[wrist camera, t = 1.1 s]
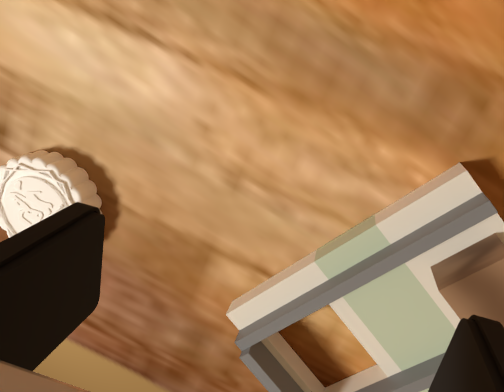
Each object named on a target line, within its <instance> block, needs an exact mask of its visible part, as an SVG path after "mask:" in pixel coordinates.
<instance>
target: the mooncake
mask: <svg viewBox="0 0 504 392" xmlns="http://www.w3.org/2000/svg"><path fill="white" fill-rule="evenodd" d="M96 193H97V187H96V185H95V183H94V182H93V181H91V180H89V177H88V173H87V172H86V171H85V170H84V169H83V168H81V167H77V164H76V162H75V161H74V160H73V159H71V158H64V157H63V156H62V155H61V154H60V153H58V152H51V153H48V152H47V151H45V150H39V151H36V152H33V153H27V154H24V155H21V156H18V157H15V158H12V159H10V160H9V161H8V162H7V164H5V165H2V166H1V167H0V226H1V228H2V229H4V230H6V231H7V235H8V237H9V238H10V237H12V236H13V235H15V234H17V233H19V232H21V231H23V230H25V229H27V228H28V227H30V226H32V225H34V224H36V223H38V222H40V221H42V220H43V219H45V218H47V217H49V216H51V215H53V214H55V213H57V212H58V211H60V210H62V209H64V208H66V207H68V206H70V205H72V204H73V203H76V202H80V203H84V204H87V205H91V206H94V207H98V208H100V207H101V205H102V201H101V198H100V197H99V196H98V195H97V194H96ZM99 210H100V209H99ZM100 214H102V212H101V210H100Z"/></svg>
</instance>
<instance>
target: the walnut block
mask: <svg viewBox="0 0 504 392" xmlns="http://www.w3.org/2000/svg"><path fill="white" fill-rule="evenodd" d="M431 270H432V273H433V276H434V279H435V282H436V285H437V288H438V291H439V292H440V293H441V295H442V296H443V297H444V299H445V300H446V301H447V303H448V304H449V305H450V307H451V308H452V309H453V311H454V312H455V313H456V314H457V316H458V317H459V318H460V320H461V319H462V318H466V319H469V317H470V316H471V315H477V316H481V317H484V318H488V319H491V320H495V321H498V322H500V323H501V324H502V326H503V327H504V244H503V242H502V241H501V240H500V238H499V237H498V236H497V234H496V233H494V234H492V235H490V236H488V237H486V238H484V239H482V240H480V241H479V242H477V243H475V244H473V245H471V246H469V247H467V248H465V249H463V250H461V251H460V252H458V253H456V254H454V255H452V256H450V257H448V258H446V259H444V260H442V261H440V262H439V263H437V264H435V265H433V266H431Z"/></svg>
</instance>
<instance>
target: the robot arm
mask: <svg viewBox="0 0 504 392" xmlns="http://www.w3.org/2000/svg"><path fill="white" fill-rule="evenodd" d="M104 226H105V217H104V215H103V214H100V210H99V208H98V207H94V206H91V205H87V204H84V203H80V202H76V203H73V204H72V205H70V206H68V207H66V208H64V209H62V210H60V211H58V212H57V213H55V214H53V215H51V216H49V217H47V218H45V219H43V220H42V221H40V222H38V223H36V224H34V225H32V226H30V227H28V228H27V229H25V230H23V231H21V232H19V233H17V234H15V235H13V236H12V237H10V238H8V239H6V240H4V241H2V242H0V392H90V391H87V390H84V389H81V388H78V387H75V386H73V385H70V384H67V383H64V382H61V381H58V380H55V379H53V378H50V377H47V376H44V375H41V374H38V373H35V372H33V370H34V369H35V368H36V367H37V366H38V365H39V364H40V363H41V362H42V361H43V360H44V359H45V358H46V357H47V356H48V355H49V354H50V353H51V352H52V351H53V350H54V349H55V348H56V347H57V346H58V345H59V344H60V343H61V342H63V341H64V340H65V339H66V338H67V337H68V336H69V335H70V334H71V333H72V332H73V331H74V330H75V329H76V328H77V327H78V326H79V325H80V324H81V323H82V322H83V321H84V320H85V319H86V318H87V317H88V316H89V315H90V314H91V313H92V312H93V311H94V310H95V308H96V306H97V304H98V301H99V297H100V283H101V268H102V254H103V240H104ZM428 392H504V327H503V326H502V324H501V323H500V322H498V321H495V320H491V319H488V318H484V317H481V316H477V315H471V316H470V317H469V319H466V318H462V319H461V320H460V322H459V323H458V326H457V328H456V330H455V332H454V335H453V337H452V339H451V341H450V343H449V346H448V348H447V350H446V352H445V355H444V357H443V359H442V361H441V363H440V366H439V368H438V370H437V372H436V375H435V377H434V379H433V381H432V383H431V386H430V388H429V390H428Z"/></svg>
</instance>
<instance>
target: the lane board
mask: <svg viewBox="0 0 504 392" xmlns="http://www.w3.org/2000/svg"><path fill="white" fill-rule="evenodd" d="M494 233H496V234H497V236H498V237H499V238H500V240H501V241H502V242H503V244H504V222H503V220H502V219H501V218H500V216H499V215H498V212H497V210H496V209H495V207H494V206H493V205H492V203H491V202H490V200H489V199H488V198H487V197H486V196H485V195H484V194H483V192H482V191H481V190H480V188H479V187H478V185H477V184H476V183H475V181H474V180H473V178H472V177H471V176H470V174H469V173H468V171H467V170H466V169H465V168H464V167H463V166H462V165H461V163H458V164H456V165H455V166H453V167H451V168H450V169H448V170H447V171H445V172H443V173H442V174H440V175H438V176H437V177H435V178H433V179H432V180H430V181H429V182H427V183H425V184H424V185H422V186H420V187H419V188H417V189H415V190H414V191H412V192H411V193H409V194H407V195H406V196H404V197H402V198H401V199H399V200H397V201H396V202H394V203H392V204H391V205H389V206H388V207H386V208H384V209H383V210H381V211H379V212H378V213H376V214H374V215H373V216H371V217H370V218H368V219H366V220H365V221H363V222H361V223H360V224H358V225H356V226H355V227H353V228H351V229H350V230H348V231H347V232H345V233H343V234H342V235H340V236H338V237H337V238H335V239H333V240H332V241H330V242H329V243H327V244H325V245H324V246H322V247H320V248H319V249H317V250H315V251H314V252H312V253H310V254H309V255H307V256H306V257H304V258H302V259H301V260H299V261H297V262H296V263H294V264H292V265H291V266H289V267H288V268H286V269H284V270H283V271H281V272H279V273H278V274H276V275H274V276H273V277H271V278H270V279H268V280H266V281H265V282H263V283H261V284H260V285H258V286H256V287H255V288H253V289H251V290H250V291H248V292H247V293H245V294H243V295H242V296H240V297H238V298H237V299H235V300H233V301H232V303H231V305H230V307H229V309H228V311H227V313H226V315H227V316H228V318H229V319H230V320H231V321H232V322H233V323H234V325H235V326H236V327H237V328H238V329H239V333H238V335H237V338H236V340H235V344H236V345H237V346H238V347H239V348H240V350H241V351H242V352H241V355H240V359H241V360H242V361H243V363H244V364H245V365H246V366H247V367H248V368H249V370H250V371H251V372H252V373H253V374H254V375H255V376H256V378H257V379H258V380H259V381H260V382H261V383H262V385H263V386H264V387H265V388H266V389H267V390H268V391H269V392H428V390H429V388H430V386H431V383H432V381H433V379H434V377H435V375H436V372H437V370H438V368H439V366H440V363H441V361H442V359H443V357H444V355H445V352H446V350H447V348H448V346H449V343H450V341H451V339H452V337H453V335H454V332H455V330H456V328H457V326H458V323H459V322H460V318H459V317H458V316H457V314H456V313H455V312H454V311H453V309H452V308H451V307H450V305H449V304H448V303H447V301H446V300H445V299H444V297H443V296H442V295H441V293H440V292H439V291H438V288H437V285H436V282H435V279H434V276H433V273H432V270H431V266H433V265H435V264H437V263H439V262H440V261H442V260H444V259H446V258H448V257H450V256H452V255H454V254H456V253H458V252H460V251H461V250H463V249H465V248H467V247H469V246H471V245H473V244H475V243H477V242H479V241H480V240H482V239H484V238H486V237H488V236H490V235H492V234H494ZM328 304H329V305H330V306H331V307H332V309H333V310H334V311H335V312H336V314H337V315H338V316H339V317H340V319H341V320H342V321H343V322H344V323H345V325H346V326H347V327H348V328H349V330H350V331H351V332H352V333H353V335H354V336H355V337H356V338H357V340H358V341H359V342H360V343H361V344H362V346H363V347H364V348H365V349H366V351H367V352H368V353H369V354H370V356H371V357H372V358H373V359H374V361H375V362H376V363H377V364H376V365H374V366H372V367H370V368H368V369H365V370H363V371H361V372H359V373H357V374H354V375H352V376H350V377H348V378H345V379H343V380H341V381H339V382H337V383H334V384H332V385H330V386H328V387H326V388H325V387H324V386H323V385H322V384H321V382H320V381H319V380H318V379H317V378H316V376H315V375H314V374H313V373H312V372H311V371H310V369H309V368H308V367H307V366H306V365H305V363H304V362H303V361H302V360H301V359H300V357H299V356H298V355H297V354H296V353H295V351H294V350H293V349H292V348H291V347H290V345H289V344H288V343H287V342H286V341H285V340H284V338H283V337H282V336H281V335H280V334H279V332H278V331H280V330H282V329H284V328H286V327H287V326H289V325H291V324H293V323H295V322H297V321H298V320H300V319H302V318H304V317H306V316H308V315H310V314H311V313H313V312H315V311H317V310H319V309H321V308H322V307H324V306H326V305H328Z"/></svg>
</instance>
